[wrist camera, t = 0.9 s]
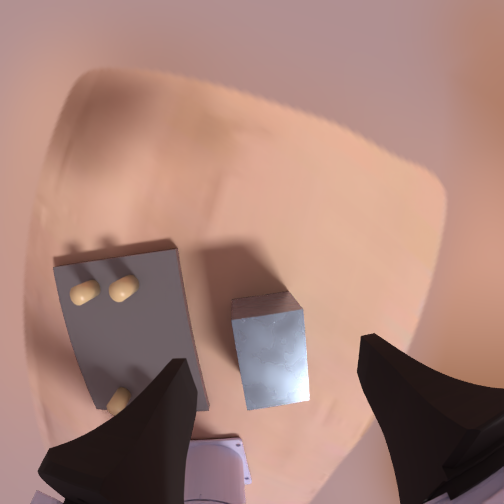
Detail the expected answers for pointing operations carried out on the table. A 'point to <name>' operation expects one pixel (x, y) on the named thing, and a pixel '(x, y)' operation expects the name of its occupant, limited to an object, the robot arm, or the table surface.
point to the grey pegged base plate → (127, 324)
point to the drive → (271, 349)
